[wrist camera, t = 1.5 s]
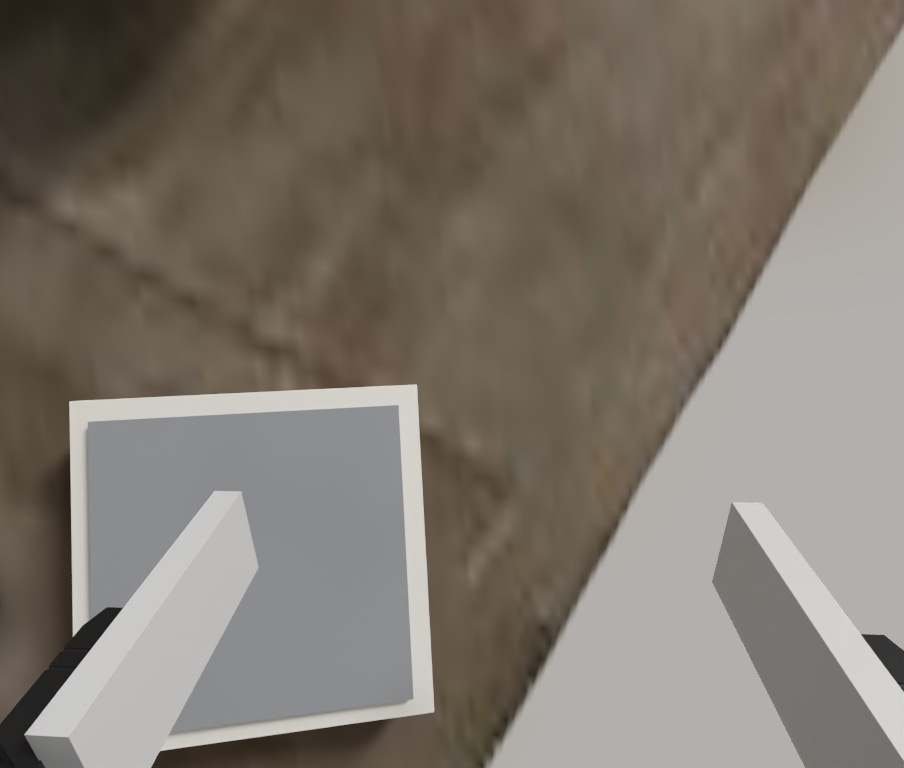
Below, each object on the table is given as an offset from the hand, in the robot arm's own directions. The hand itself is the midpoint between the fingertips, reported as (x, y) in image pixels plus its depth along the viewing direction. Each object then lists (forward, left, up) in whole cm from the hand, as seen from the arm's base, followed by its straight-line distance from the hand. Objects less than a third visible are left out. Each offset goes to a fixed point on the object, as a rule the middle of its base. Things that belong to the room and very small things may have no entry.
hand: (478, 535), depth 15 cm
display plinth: (+3, -8, -17) cm, 19 cm away
